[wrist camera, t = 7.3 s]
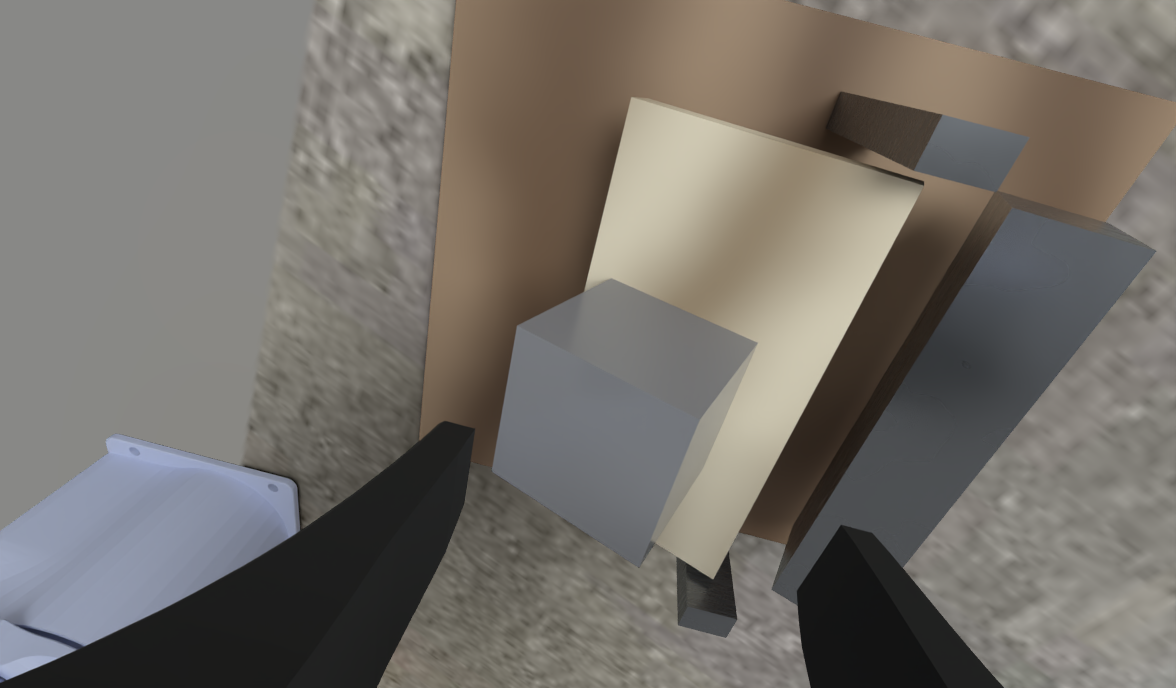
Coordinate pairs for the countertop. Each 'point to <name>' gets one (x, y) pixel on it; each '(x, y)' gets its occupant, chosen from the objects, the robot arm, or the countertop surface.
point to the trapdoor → (844, 321)
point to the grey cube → (616, 410)
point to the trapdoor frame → (755, 101)
